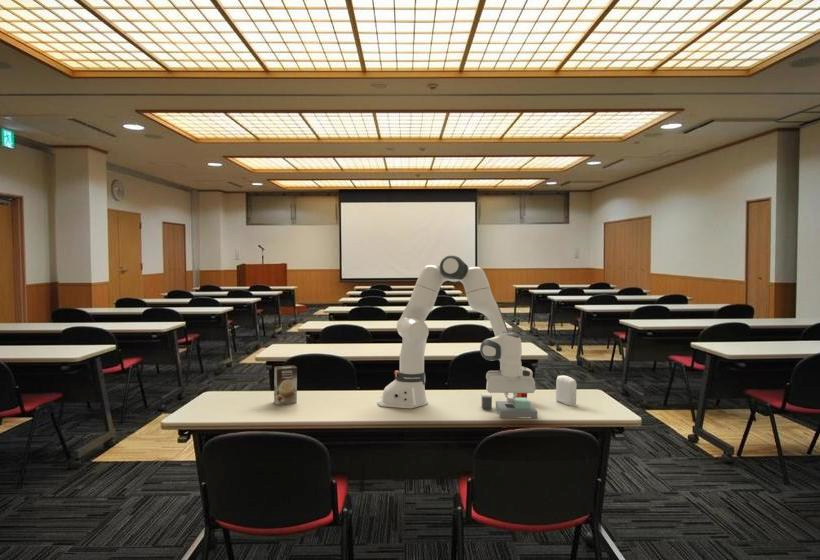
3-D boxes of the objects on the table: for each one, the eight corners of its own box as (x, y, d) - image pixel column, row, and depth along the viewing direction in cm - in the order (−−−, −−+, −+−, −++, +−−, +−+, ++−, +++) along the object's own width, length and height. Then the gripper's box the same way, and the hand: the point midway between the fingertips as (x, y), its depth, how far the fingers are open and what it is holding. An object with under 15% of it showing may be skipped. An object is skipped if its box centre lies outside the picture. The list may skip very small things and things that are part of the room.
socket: (500, 417, 204) (500, 410, 204) (495, 407, 218) (495, 401, 218) (537, 418, 203) (537, 411, 203) (530, 408, 217) (530, 401, 217)
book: (577, 405, 222) (578, 378, 222) (570, 406, 220) (570, 379, 220) (561, 399, 231) (562, 373, 231) (554, 400, 230) (554, 374, 229)
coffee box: (276, 405, 220) (276, 369, 219) (273, 401, 226) (273, 366, 225) (297, 402, 224) (297, 367, 223) (294, 399, 230) (294, 364, 229)
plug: (482, 409, 216) (482, 395, 216) (481, 406, 220) (481, 393, 220) (491, 409, 216) (491, 395, 216) (490, 406, 220) (490, 393, 220)
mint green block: (515, 408, 207) (515, 402, 206) (512, 403, 215) (512, 397, 214) (530, 408, 206) (530, 402, 206) (526, 403, 214) (526, 397, 214)
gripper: (486, 371, 207) (486, 404, 208) (536, 372, 207) (536, 405, 207) (485, 368, 214) (484, 400, 214) (533, 369, 213) (532, 401, 213)
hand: (510, 402), depth 211 cm, fingers closed
